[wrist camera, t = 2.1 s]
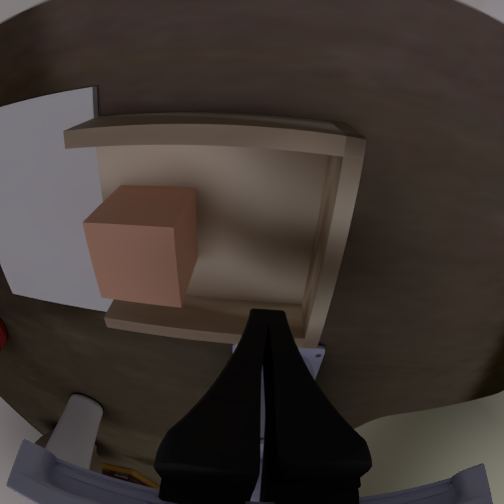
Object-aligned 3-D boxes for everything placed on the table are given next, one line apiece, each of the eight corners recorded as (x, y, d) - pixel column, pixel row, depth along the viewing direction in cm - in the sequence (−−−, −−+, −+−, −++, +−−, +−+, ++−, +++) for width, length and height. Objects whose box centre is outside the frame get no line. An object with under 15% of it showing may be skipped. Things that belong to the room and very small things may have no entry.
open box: (311, 309, 24) (316, 348, 21) (125, 292, 24) (107, 326, 21) (347, 124, 16) (366, 139, 13) (98, 116, 17) (63, 131, 13)
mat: (129, 310, 25) (127, 314, 25) (15, 289, 25) (12, 293, 25) (97, 86, 15) (92, 87, 15) (-31, 117, 16) (-36, 118, 15)
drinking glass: (60, 384, 35) (24, 471, 23) (100, 395, 35) (67, 492, 22) (77, 407, 39) (48, 487, 26) (114, 418, 39) (89, 504, 26)
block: (197, 257, 21) (181, 307, 17) (129, 251, 21) (101, 297, 17) (195, 187, 18) (173, 227, 14) (120, 185, 18) (82, 222, 14)
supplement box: (132, 468, 56) (120, 524, 43) (160, 486, 64) (151, 534, 51) (98, 461, 57) (84, 512, 44) (128, 480, 65) (118, 525, 52)
